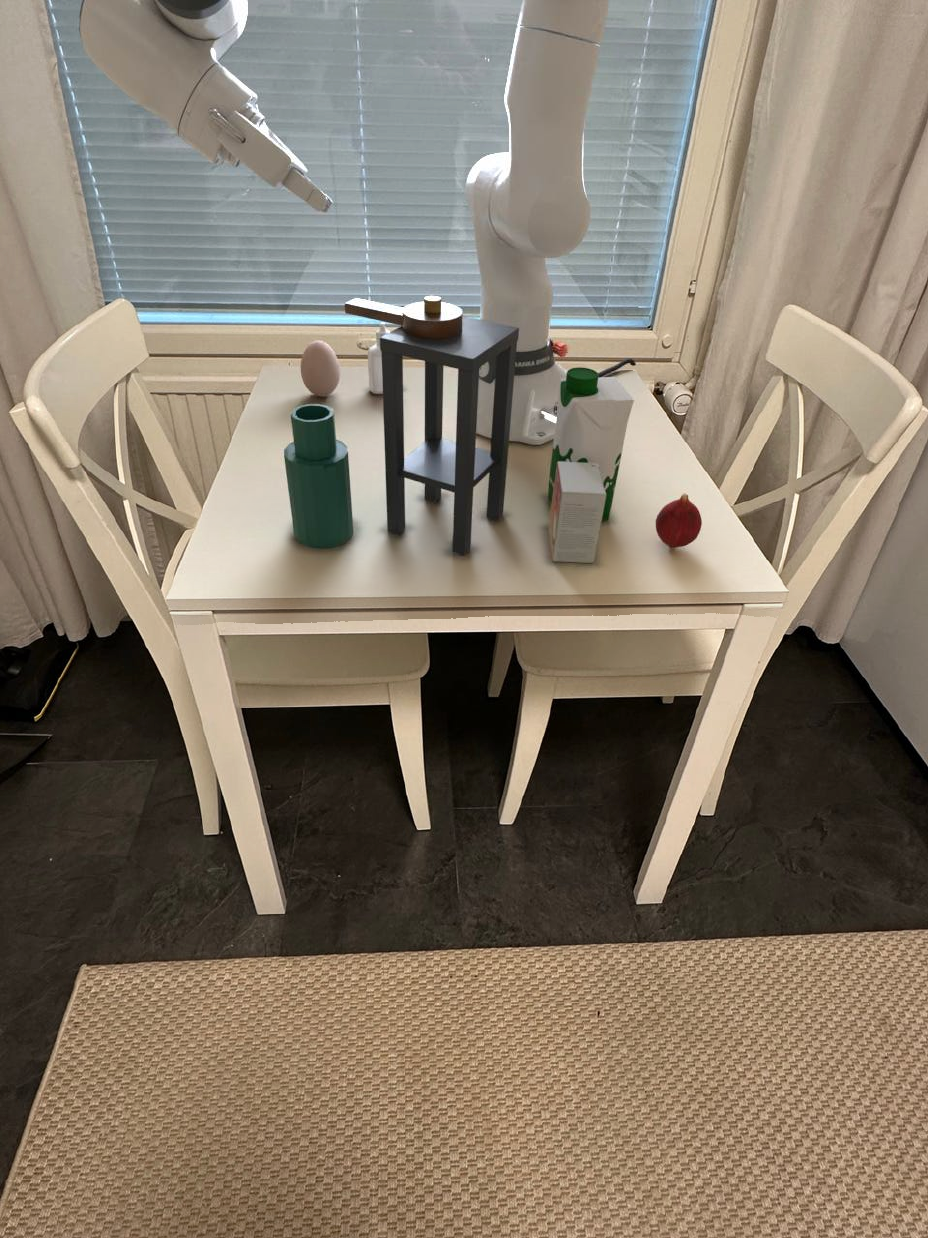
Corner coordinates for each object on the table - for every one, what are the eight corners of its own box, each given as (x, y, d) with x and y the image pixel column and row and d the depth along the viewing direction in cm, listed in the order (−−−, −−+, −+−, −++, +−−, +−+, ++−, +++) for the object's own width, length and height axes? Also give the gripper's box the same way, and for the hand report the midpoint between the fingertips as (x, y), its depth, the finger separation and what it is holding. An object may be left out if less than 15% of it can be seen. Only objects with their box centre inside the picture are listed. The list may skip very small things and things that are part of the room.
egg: (349, 395, 136) (346, 341, 130) (320, 406, 132) (315, 351, 126) (324, 384, 139) (320, 331, 133) (295, 395, 135) (289, 340, 129)
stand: (386, 531, 102) (379, 337, 86) (430, 492, 111) (431, 309, 94) (464, 556, 98) (473, 359, 82) (504, 514, 107) (519, 327, 90)
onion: (702, 556, 100) (717, 504, 95) (663, 562, 99) (677, 509, 94) (680, 532, 105) (694, 481, 99) (643, 538, 103) (654, 486, 98)
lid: (334, 318, 90) (332, 288, 88) (366, 302, 95) (365, 274, 93) (444, 343, 85) (444, 312, 83) (472, 325, 90) (473, 295, 88)
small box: (547, 528, 104) (556, 459, 97) (588, 530, 104) (599, 461, 97) (551, 562, 98) (560, 491, 91) (594, 564, 98) (607, 493, 91)
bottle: (338, 511, 106) (328, 394, 95) (363, 538, 101) (356, 418, 90) (285, 525, 102) (269, 406, 92) (308, 554, 97) (294, 432, 87)
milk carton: (540, 494, 111) (555, 360, 98) (599, 491, 113) (621, 358, 100) (555, 527, 105) (574, 387, 92) (617, 523, 106) (644, 385, 93)
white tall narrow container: (399, 395, 137) (398, 328, 129) (368, 394, 137) (365, 326, 129) (400, 385, 140) (399, 319, 132) (370, 384, 140) (367, 318, 132)
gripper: (220, 77, 75) (337, 177, 80) (252, 107, 93) (345, 187, 98) (188, 136, 77) (304, 230, 82) (225, 154, 95) (318, 230, 100)
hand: (327, 206), depth 90 cm, fingers open, 8 cm apart
